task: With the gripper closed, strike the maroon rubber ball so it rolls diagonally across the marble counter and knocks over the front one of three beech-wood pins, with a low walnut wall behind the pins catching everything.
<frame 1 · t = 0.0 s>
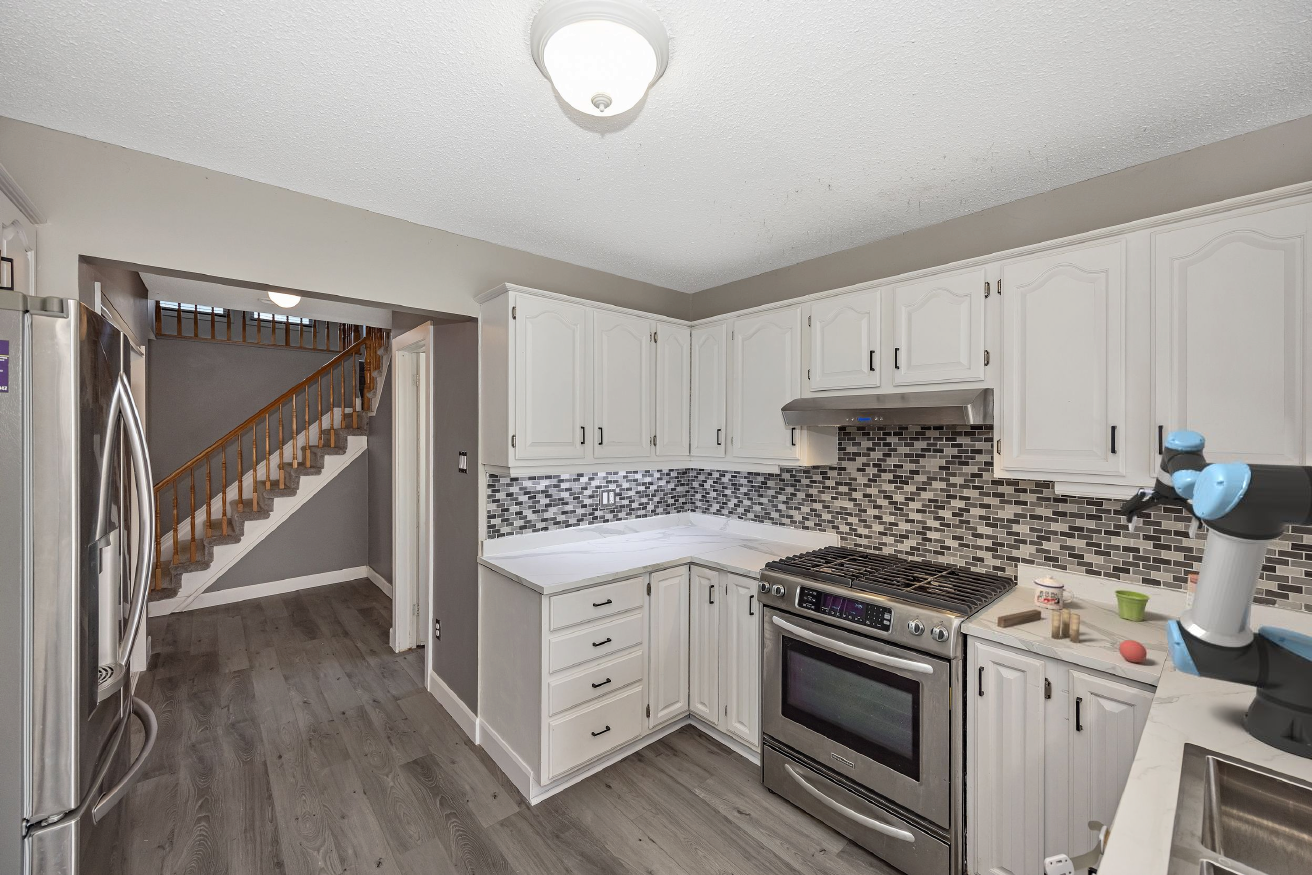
hand: (1160, 532, 164), 36 cm above the counter, tool tilted 35°, fingers open, 13 cm apart
teacup with lid: (1052, 607, 202), on the counter
front pin: (1074, 641, 170), on the counter
cracker box: (1216, 643, 170), on the counter
pin 2: (1065, 635, 174), on the counter
pin 1: (1055, 637, 172), on the counter
back wall: (1019, 622, 185), on the counter
ball: (1132, 651, 156), on the counter
plant pot: (1130, 619, 191), on the counter
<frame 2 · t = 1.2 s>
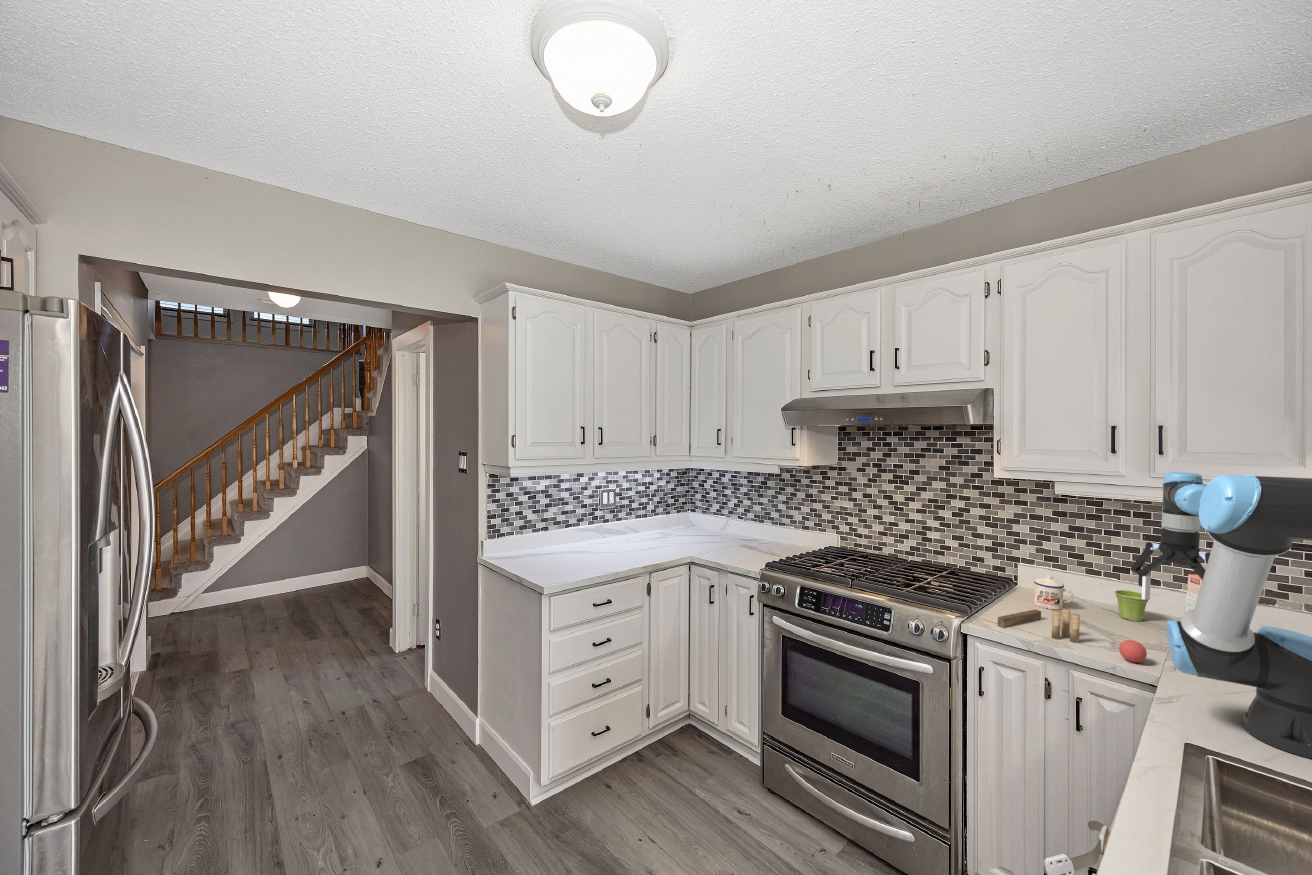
hand: (1176, 606, 147), 19 cm above the counter, tool pointing down, fingers open, 13 cm apart
nothing on the counter moved.
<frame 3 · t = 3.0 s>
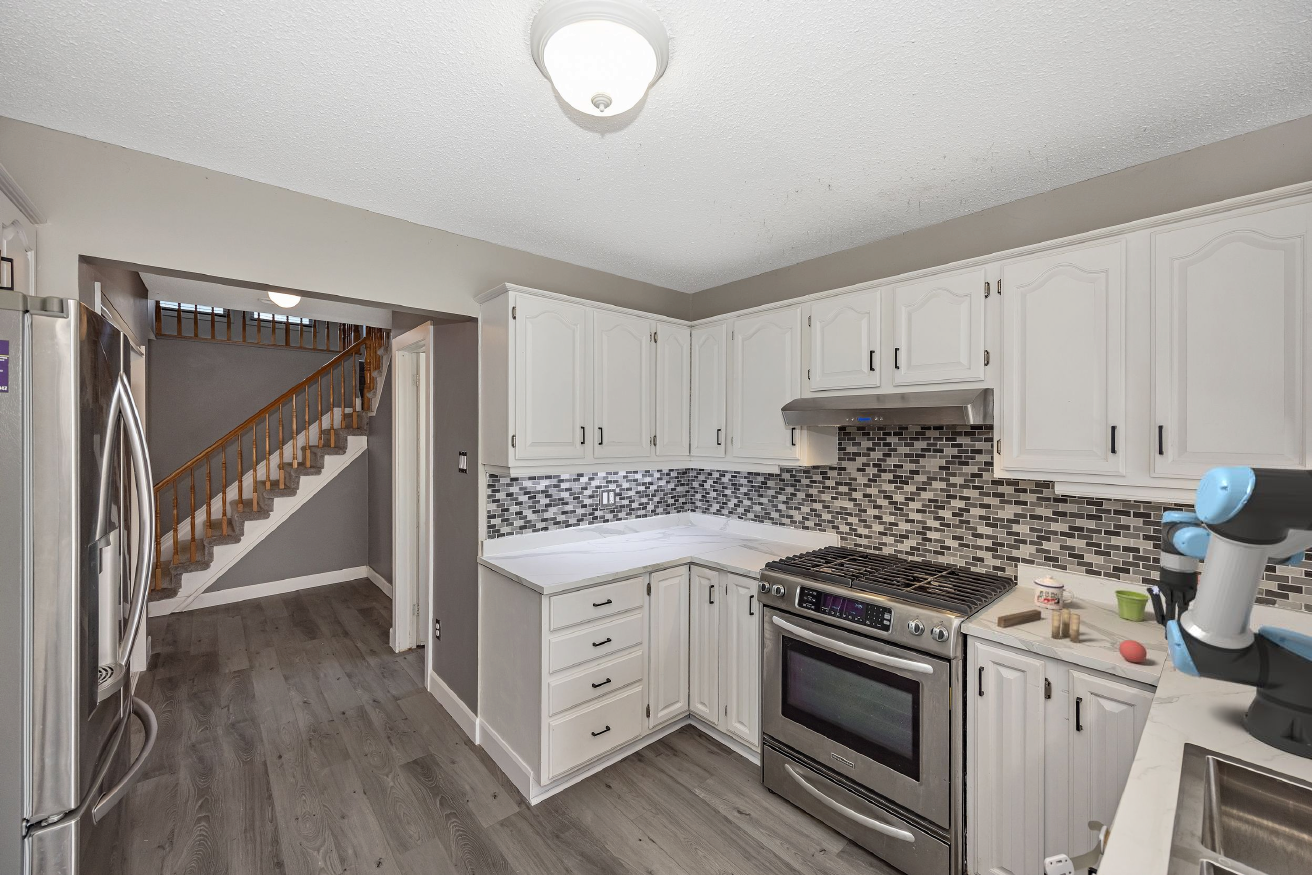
hand: (1174, 653, 147), 6 cm above the counter, tool pointing down, fingers closed
nothing on the counter moved.
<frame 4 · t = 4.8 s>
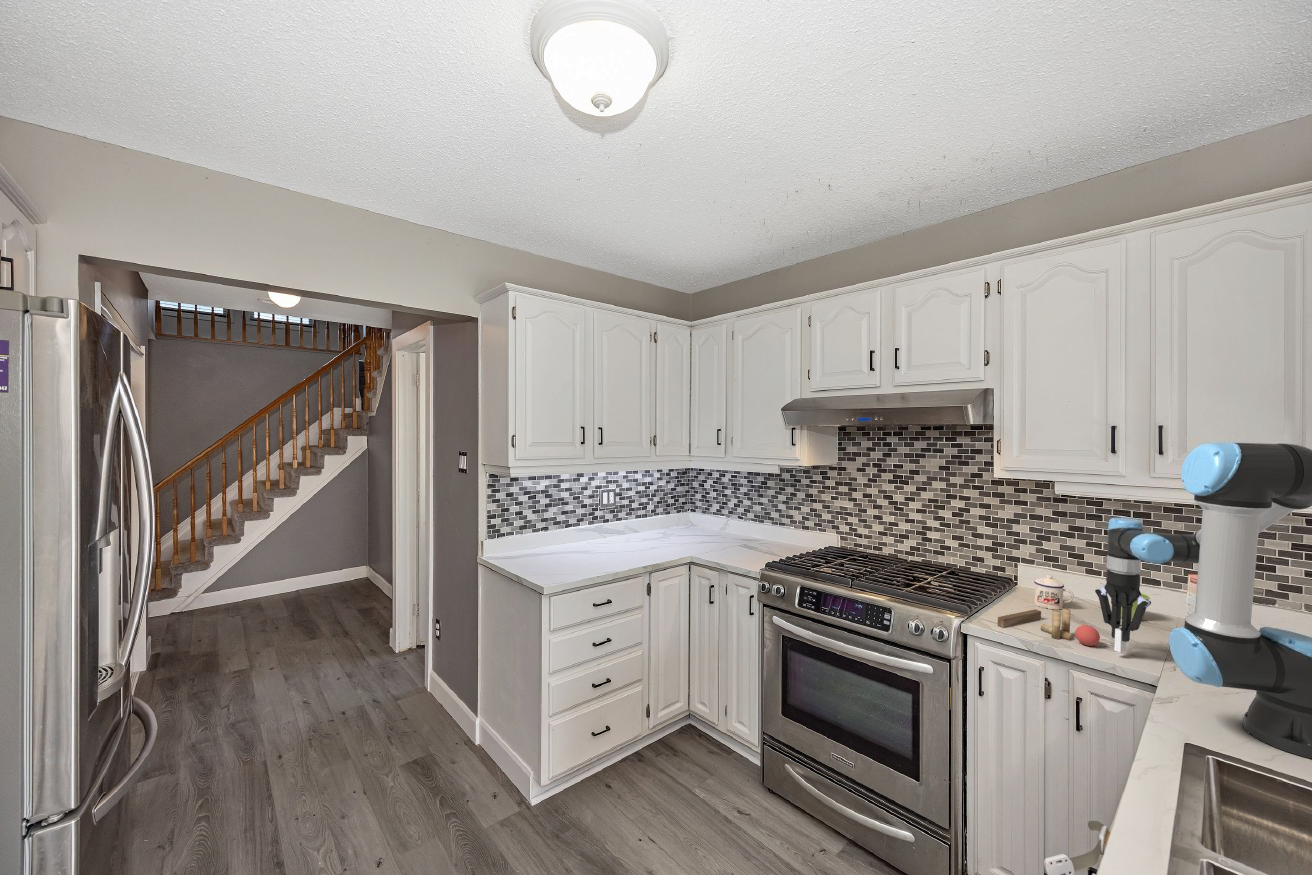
hand: (1119, 650, 159), 2 cm above the counter, tool pointing down, fingers closed
front pin: (1070, 636, 171), point 1 cm above the counter, tilted 90°
ball: (1087, 635, 167), on the counter
everything else where it was.
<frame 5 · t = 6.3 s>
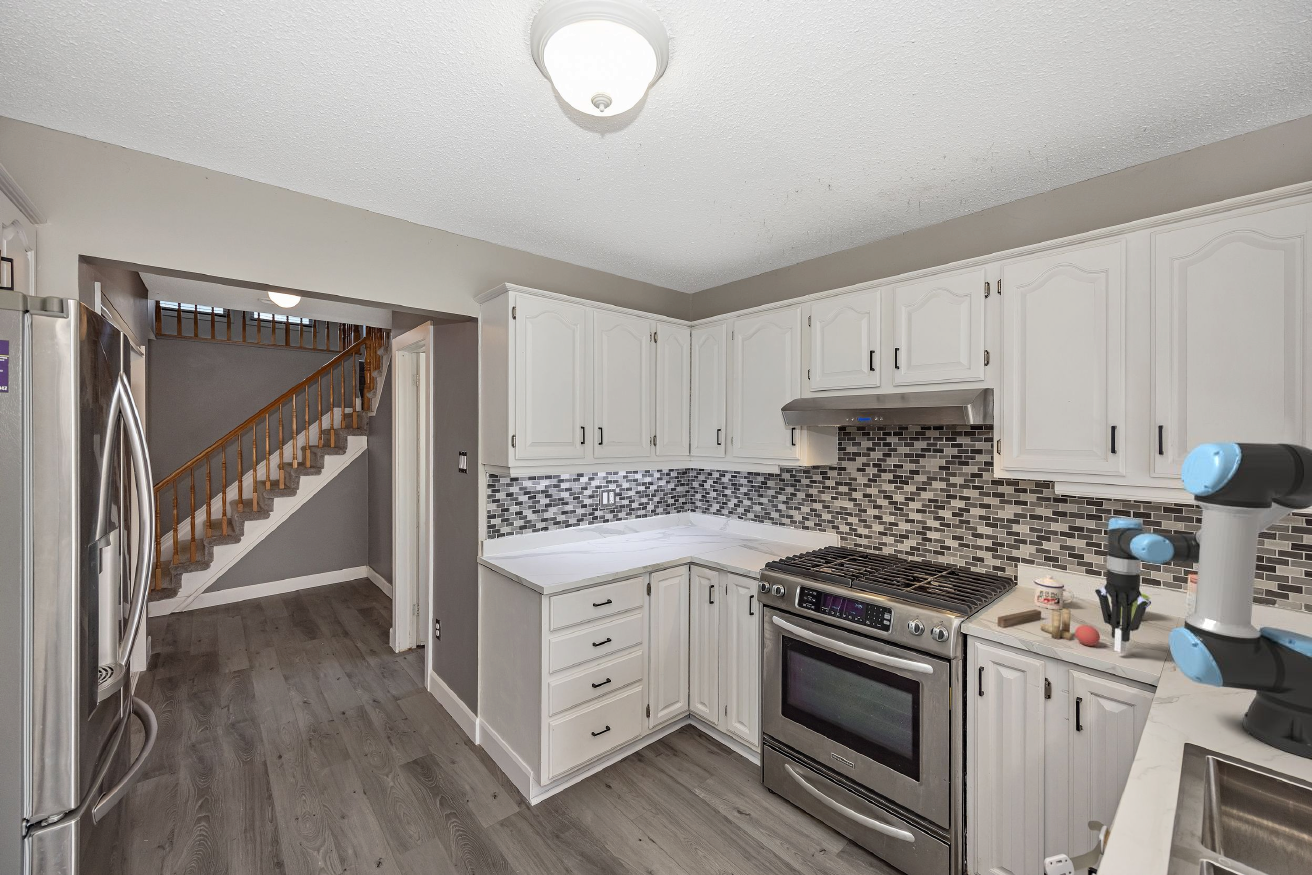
hand: (1119, 650, 159), 2 cm above the counter, tool pointing down, fingers closed
nothing on the counter moved.
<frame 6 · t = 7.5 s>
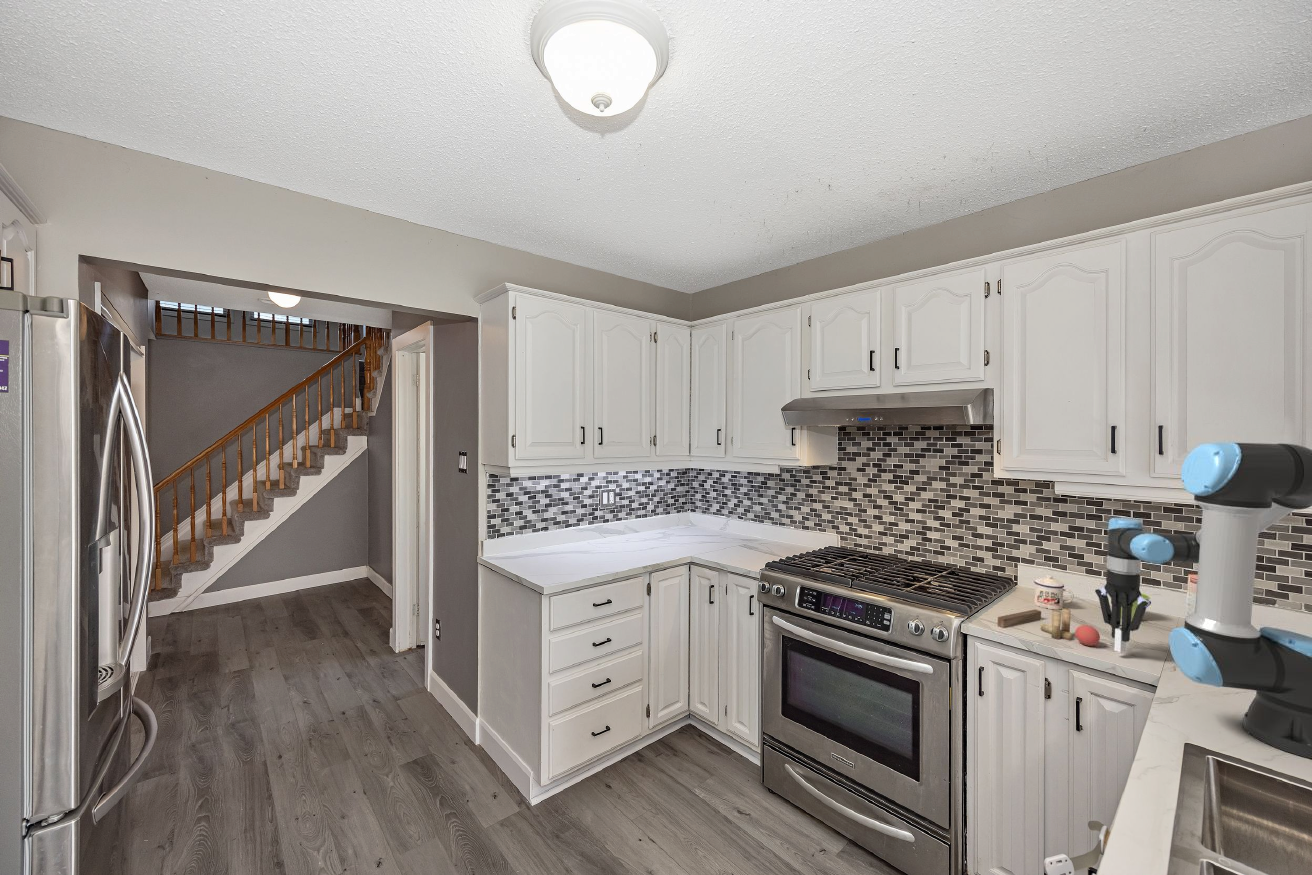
hand: (1119, 650, 159), 2 cm above the counter, tool pointing down, fingers closed
nothing on the counter moved.
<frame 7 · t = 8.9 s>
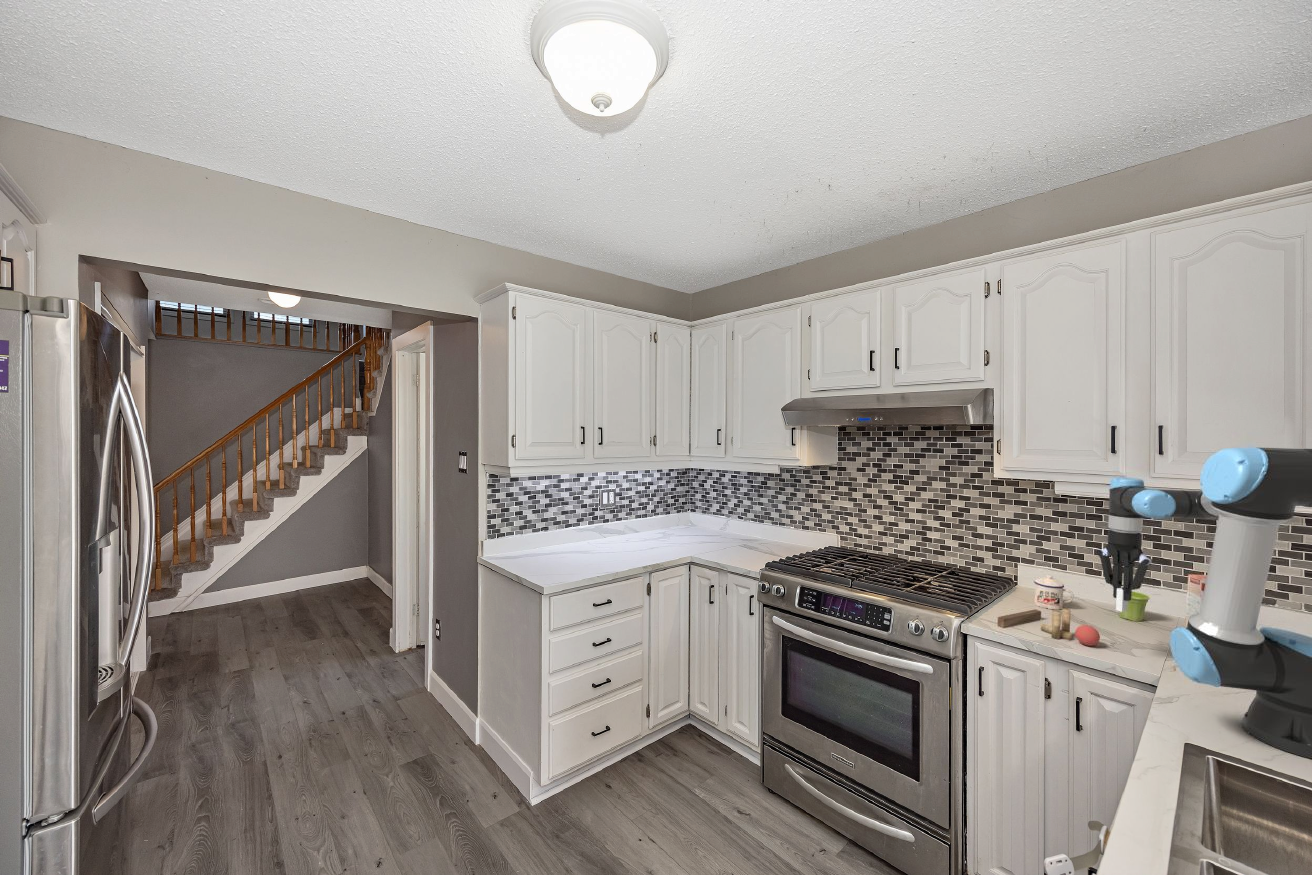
hand: (1121, 610, 158), 14 cm above the counter, tool pointing down, fingers closed
nothing on the counter moved.
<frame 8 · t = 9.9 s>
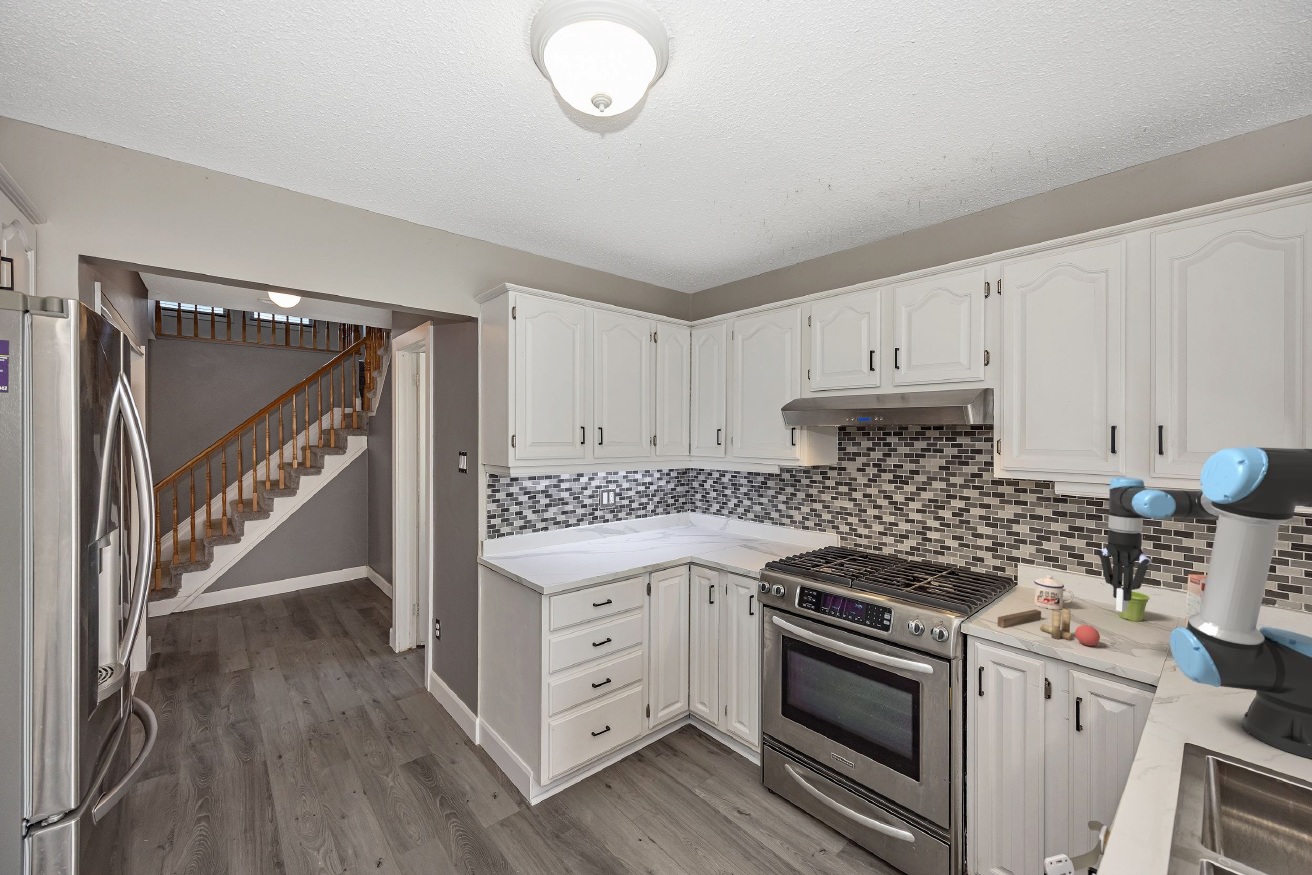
hand: (1121, 610, 158), 14 cm above the counter, tool pointing down, fingers closed
nothing on the counter moved.
at the end: front pin tilted 90°; front pin never touched the robot; ball moved 12.0 cm from its start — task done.
